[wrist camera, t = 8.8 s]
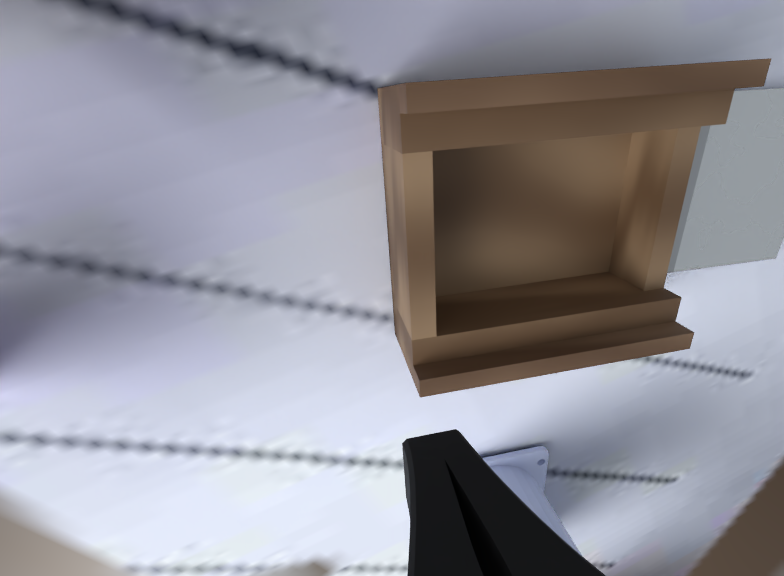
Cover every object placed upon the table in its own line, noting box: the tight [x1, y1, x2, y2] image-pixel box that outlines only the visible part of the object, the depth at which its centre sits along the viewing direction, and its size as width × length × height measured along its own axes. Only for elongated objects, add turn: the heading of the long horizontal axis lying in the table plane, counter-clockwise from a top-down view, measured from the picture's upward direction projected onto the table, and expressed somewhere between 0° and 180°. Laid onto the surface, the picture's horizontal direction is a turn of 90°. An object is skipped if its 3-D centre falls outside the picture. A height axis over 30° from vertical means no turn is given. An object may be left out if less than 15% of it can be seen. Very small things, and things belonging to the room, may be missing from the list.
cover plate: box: [667, 88, 784, 273], centre depth 20 cm, size 9×9×2 cm
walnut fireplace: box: [378, 59, 771, 397], centre depth 17 cm, size 11×12×5 cm
